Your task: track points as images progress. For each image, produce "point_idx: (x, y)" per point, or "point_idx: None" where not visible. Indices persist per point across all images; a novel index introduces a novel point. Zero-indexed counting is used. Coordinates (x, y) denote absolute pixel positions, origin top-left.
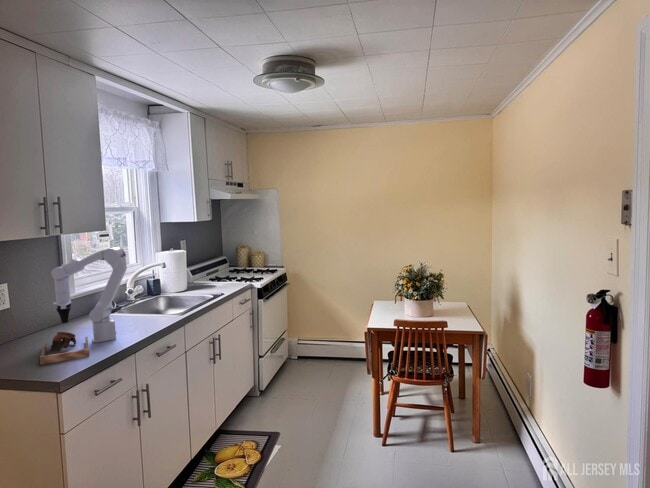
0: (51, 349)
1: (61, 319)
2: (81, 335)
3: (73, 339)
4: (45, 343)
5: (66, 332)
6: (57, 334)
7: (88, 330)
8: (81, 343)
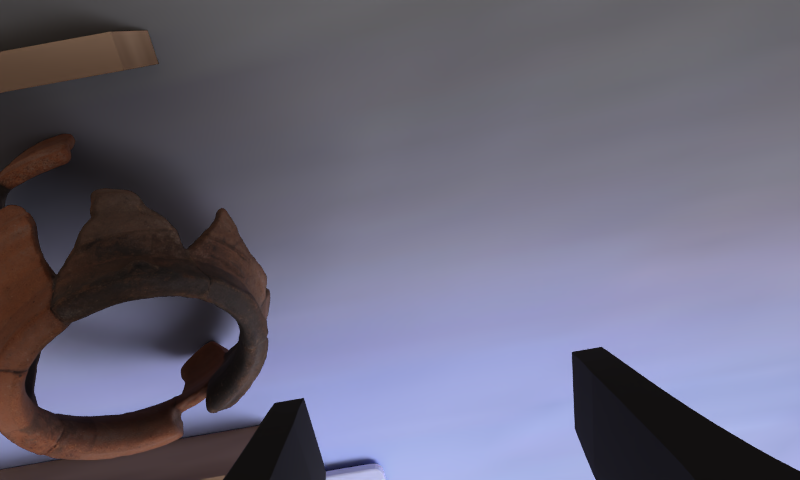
0: (17, 158)
1: (232, 473)
2: (590, 340)
3: (212, 374)
4: (86, 67)
5: (12, 431)
6: (38, 289)
7: (770, 369)
8: (249, 396)
